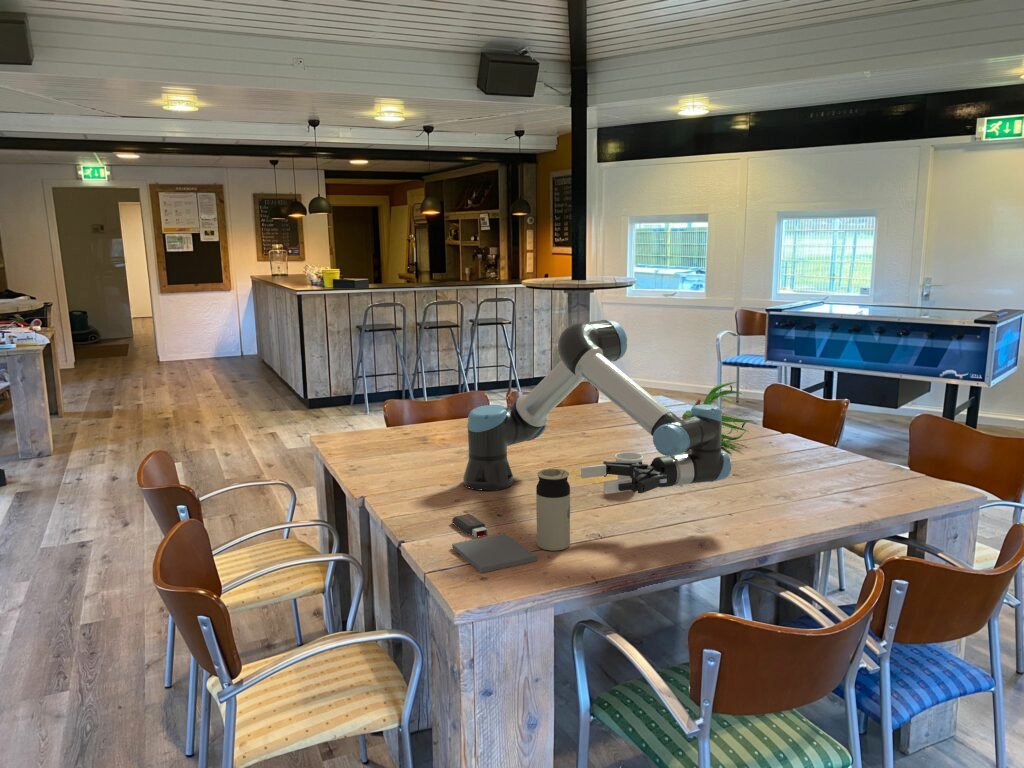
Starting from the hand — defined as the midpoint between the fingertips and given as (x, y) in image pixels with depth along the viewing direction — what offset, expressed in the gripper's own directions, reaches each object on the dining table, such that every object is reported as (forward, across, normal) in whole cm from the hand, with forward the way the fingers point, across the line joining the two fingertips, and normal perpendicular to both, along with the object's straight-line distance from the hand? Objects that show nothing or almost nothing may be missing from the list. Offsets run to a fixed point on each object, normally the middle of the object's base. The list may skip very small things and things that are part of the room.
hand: (592, 480), depth 182 cm
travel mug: (+10, 0, -15) cm, 18 cm away
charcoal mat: (+25, 0, -15) cm, 29 cm away
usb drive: (+26, +18, -16) cm, 35 cm away
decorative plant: (-78, +70, -15) cm, 106 cm away
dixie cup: (-26, +34, -15) cm, 46 cm away
